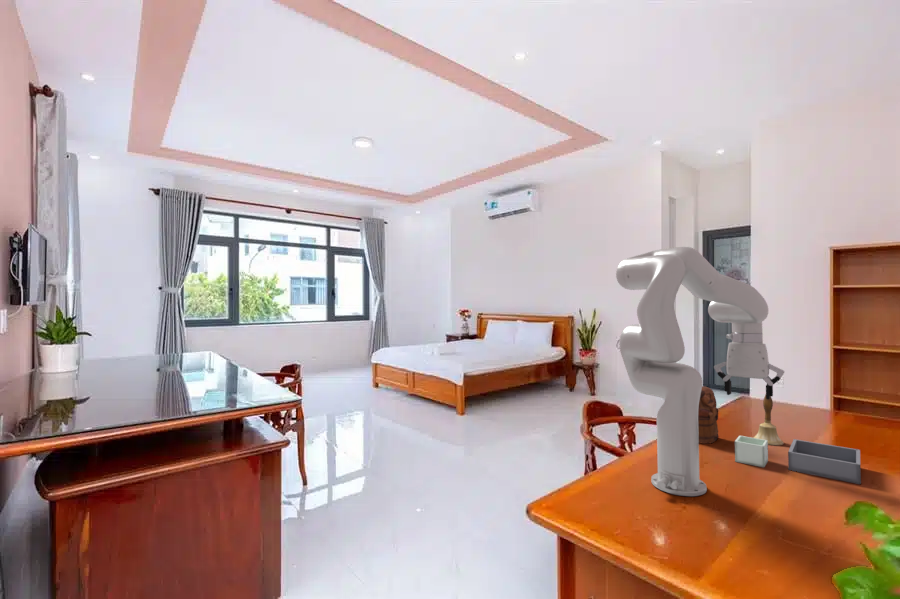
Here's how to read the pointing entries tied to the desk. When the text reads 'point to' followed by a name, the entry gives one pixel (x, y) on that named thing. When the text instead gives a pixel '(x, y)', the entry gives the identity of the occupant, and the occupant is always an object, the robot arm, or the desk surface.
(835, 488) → the desk surface
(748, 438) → the small crate
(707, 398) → the wooden figurine
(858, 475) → the box
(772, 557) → the desk surface
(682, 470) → the robot arm
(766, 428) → the hand bell
